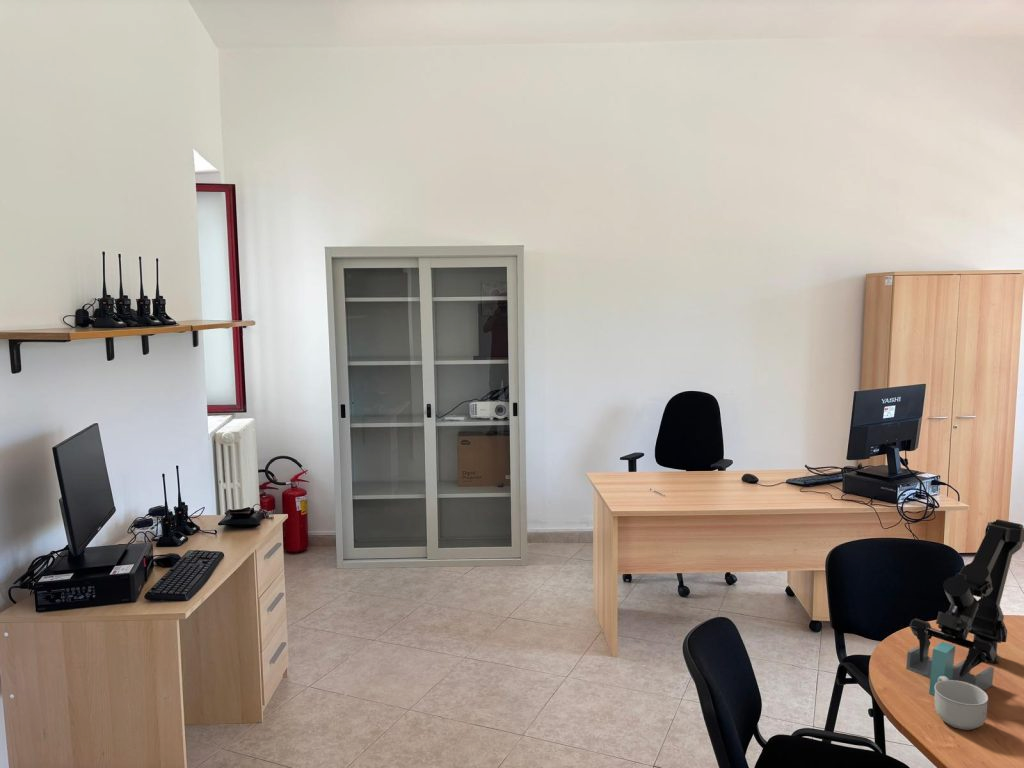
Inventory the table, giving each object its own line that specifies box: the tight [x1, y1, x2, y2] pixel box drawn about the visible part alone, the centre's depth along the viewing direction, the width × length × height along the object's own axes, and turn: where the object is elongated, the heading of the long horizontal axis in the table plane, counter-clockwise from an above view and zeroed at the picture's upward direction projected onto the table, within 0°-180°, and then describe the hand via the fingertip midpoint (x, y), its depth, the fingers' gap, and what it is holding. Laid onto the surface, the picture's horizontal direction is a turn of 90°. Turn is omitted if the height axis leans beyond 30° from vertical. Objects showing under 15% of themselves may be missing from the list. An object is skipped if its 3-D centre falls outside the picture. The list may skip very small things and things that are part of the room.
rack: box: [905, 644, 995, 692], centre depth 195 cm, size 10×17×5 cm, turn 35°
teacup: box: [934, 676, 989, 731], centre depth 175 cm, size 14×11×8 cm
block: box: [928, 641, 956, 697], centre depth 187 cm, size 6×3×12 cm, turn 130°
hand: (940, 668), depth 186 cm, fingers open, 9 cm apart
